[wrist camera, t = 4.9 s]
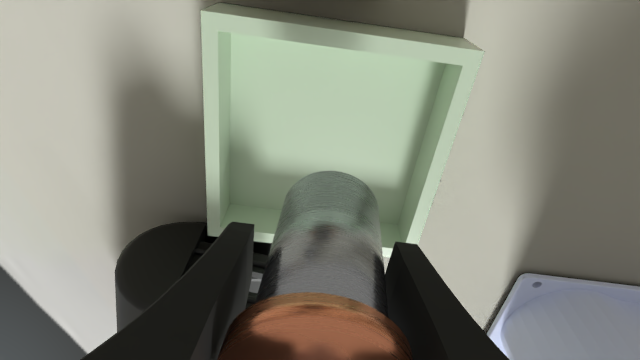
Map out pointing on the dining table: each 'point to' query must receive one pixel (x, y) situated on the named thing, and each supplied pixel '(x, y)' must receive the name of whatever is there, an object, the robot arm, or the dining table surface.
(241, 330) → the grey brown cylinder
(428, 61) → the tray
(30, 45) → the dining table surface
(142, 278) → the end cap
